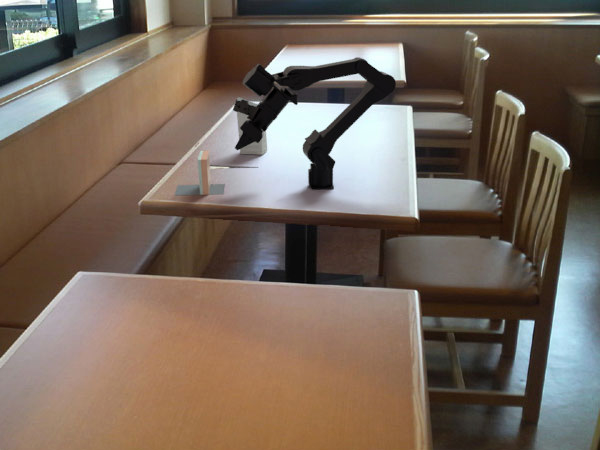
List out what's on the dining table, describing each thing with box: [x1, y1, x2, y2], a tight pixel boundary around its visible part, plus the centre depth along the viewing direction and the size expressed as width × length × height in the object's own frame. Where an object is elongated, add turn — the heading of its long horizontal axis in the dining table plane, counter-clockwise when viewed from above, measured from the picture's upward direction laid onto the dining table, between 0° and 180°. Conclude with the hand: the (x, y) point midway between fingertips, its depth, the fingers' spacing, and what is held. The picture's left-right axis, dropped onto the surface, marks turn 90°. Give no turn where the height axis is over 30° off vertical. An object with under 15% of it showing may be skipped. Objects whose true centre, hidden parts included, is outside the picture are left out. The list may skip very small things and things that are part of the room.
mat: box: [174, 183, 226, 196], centre depth 188 cm, size 14×9×1 cm, turn 93°
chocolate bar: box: [210, 164, 259, 170], centre depth 206 cm, size 9×1×18 cm
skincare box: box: [236, 112, 268, 156], centre depth 223 cm, size 8×6×15 cm
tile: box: [197, 150, 212, 196], centre depth 186 cm, size 2×9×10 cm, turn 3°
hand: (236, 149), depth 185 cm, fingers closed
